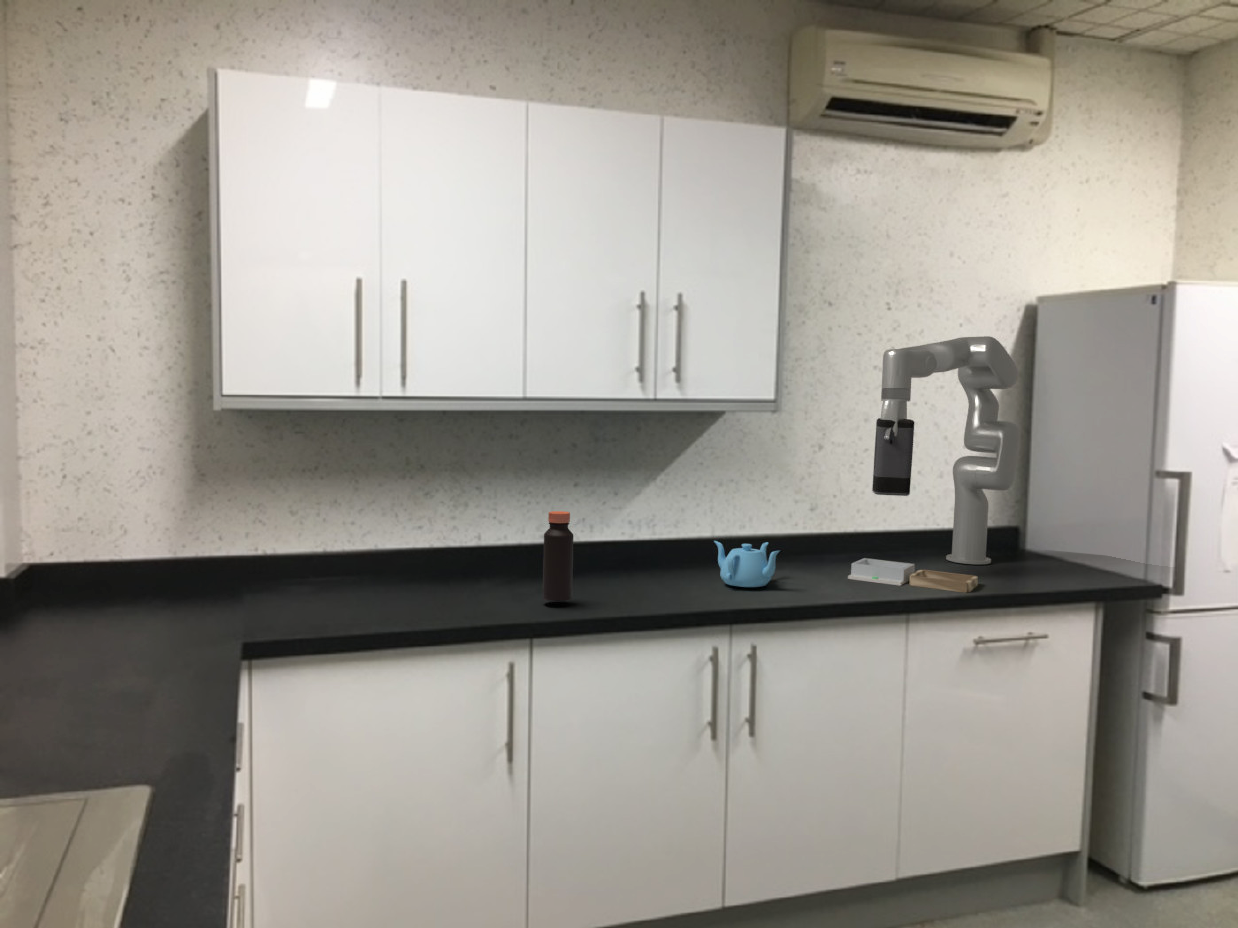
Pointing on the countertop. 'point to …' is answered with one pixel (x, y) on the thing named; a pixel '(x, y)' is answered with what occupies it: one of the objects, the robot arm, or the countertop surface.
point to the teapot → (746, 565)
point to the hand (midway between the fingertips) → (892, 463)
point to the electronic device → (893, 458)
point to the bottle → (558, 558)
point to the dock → (881, 571)
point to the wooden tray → (943, 580)
